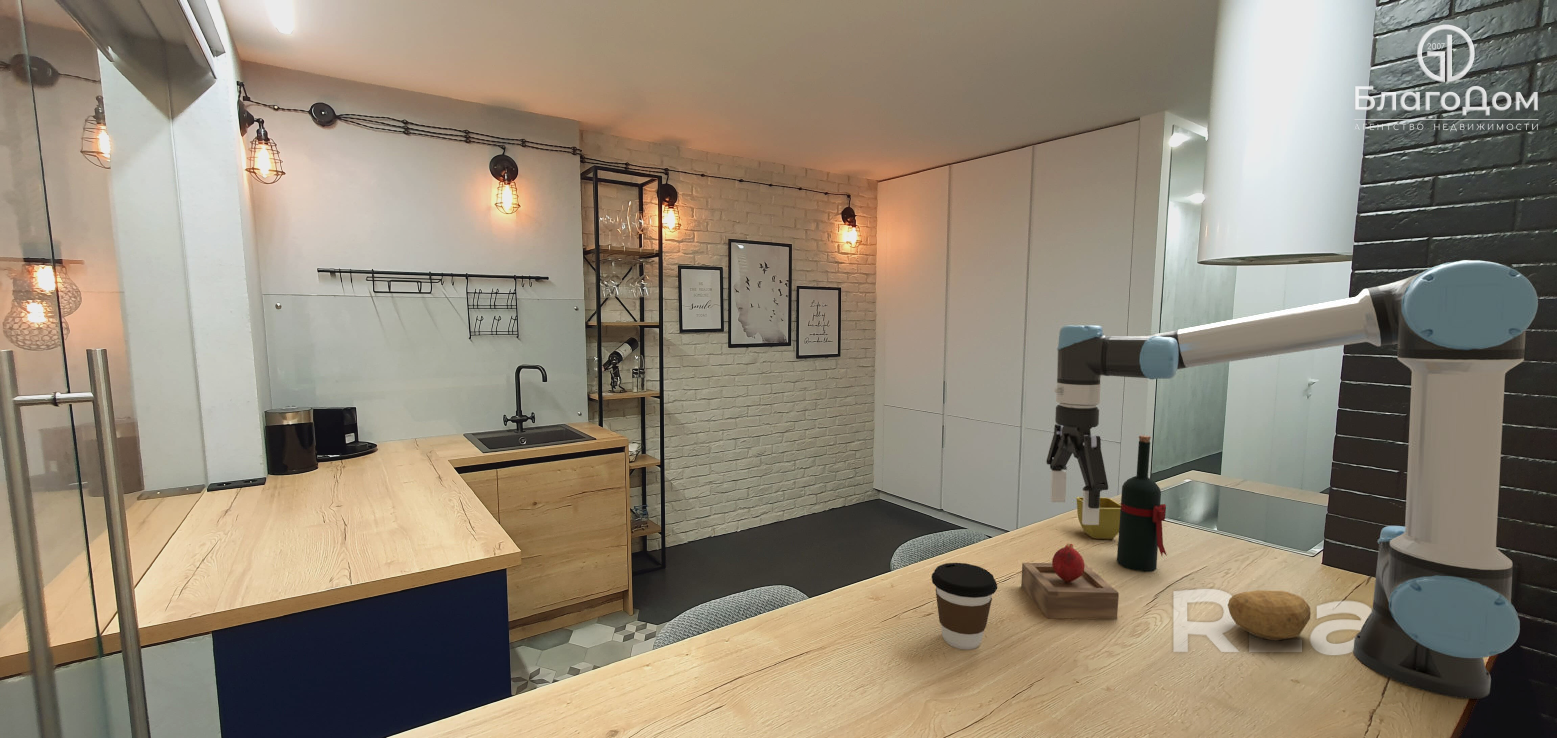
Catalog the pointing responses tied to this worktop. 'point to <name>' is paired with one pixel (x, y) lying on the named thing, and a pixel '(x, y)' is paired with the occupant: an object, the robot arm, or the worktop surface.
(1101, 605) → the walnut tray
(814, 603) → the worktop surface
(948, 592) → the coffee cup
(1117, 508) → the flower pot
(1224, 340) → the robot arm
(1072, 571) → the pomegranate
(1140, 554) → the wine bottle
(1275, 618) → the potato
